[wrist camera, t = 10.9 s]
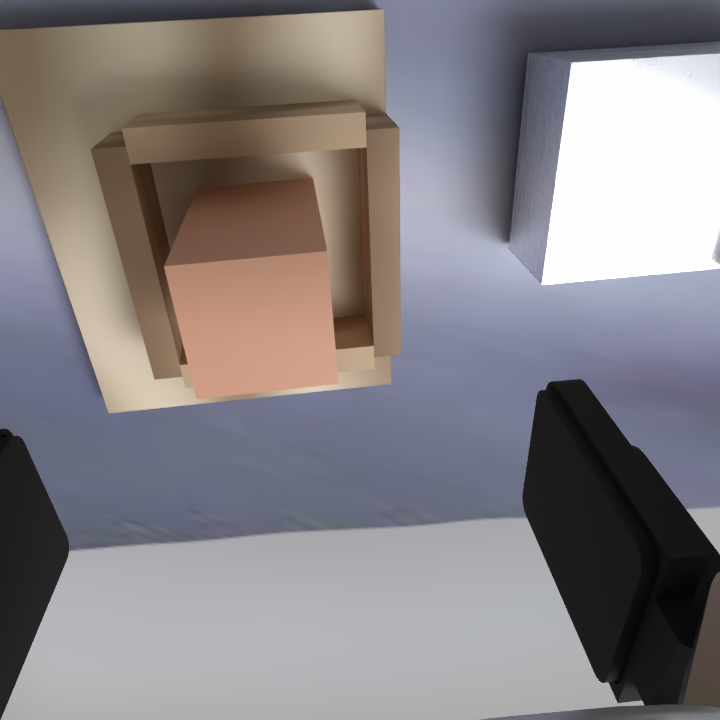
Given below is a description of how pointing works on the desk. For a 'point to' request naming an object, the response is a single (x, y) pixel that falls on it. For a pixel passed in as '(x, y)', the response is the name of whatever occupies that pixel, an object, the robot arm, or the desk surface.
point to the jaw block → (254, 289)
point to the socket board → (206, 172)
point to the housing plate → (619, 163)
